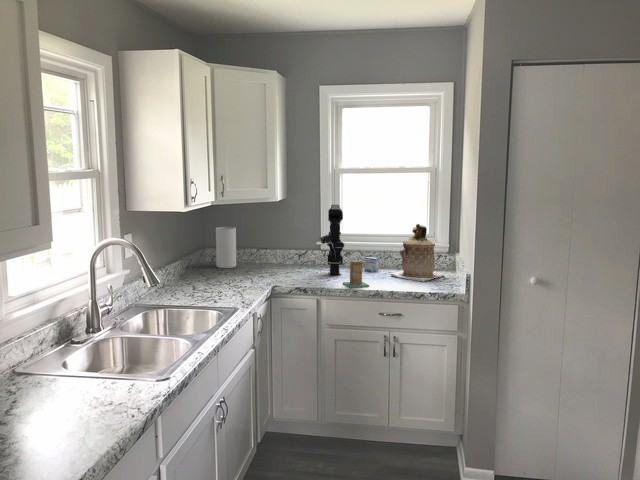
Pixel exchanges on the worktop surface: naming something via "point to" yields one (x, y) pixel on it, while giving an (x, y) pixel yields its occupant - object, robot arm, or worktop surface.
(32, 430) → the worktop surface
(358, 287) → the green mat
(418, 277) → the cookie jar
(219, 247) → the cylinder vase
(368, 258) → the medicine box
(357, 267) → the walnut block
